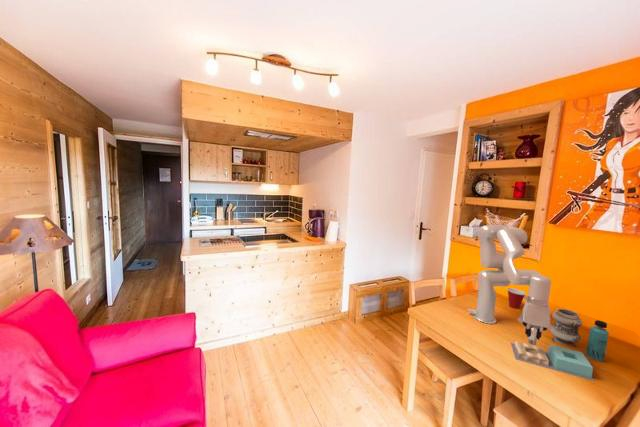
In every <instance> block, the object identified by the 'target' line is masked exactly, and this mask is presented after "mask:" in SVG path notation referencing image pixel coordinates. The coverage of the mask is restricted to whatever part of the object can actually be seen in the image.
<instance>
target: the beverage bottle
mask: <svg viewBox="0 0 640 427" xmlns="http://www.w3.org/2000/svg"><path fill="white" fill-rule="evenodd" d="M607 327H608V323H607V322H605V321H602V320H601V319H599V320H598V319H595V321H594V325H593V326H591V327H590V328H589V336H588V339H587V346H586V349H585V352H586V353H585V354H586V356H587V357H588V358H590V359H592V360H594V361H598V362H603V361H604V360H605V358H606V356H607V355H606V353H607V347H608V342H609V341H608V339H609V335H610V332H609V331H608V330H607Z"/></svg>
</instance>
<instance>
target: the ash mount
mask: <svg viewBox="0 0 640 427" xmlns="http://www.w3.org/2000/svg"><path fill="white" fill-rule="evenodd" d="M514 344H515V348H516V351H517V354H518V357H519V358H521V359H525V360H528V361H532V362H536V363H539V364H543V365H547V366H548V363H549V360H548V358H547V356H546V354H545V352H546V351H545V352H544V347H541V346H540V347H539V346H536V345H532V344H530V343H525V342H524V343H523V342H522V341H521V342H520V341H517V340H516V341H515V342H514Z"/></svg>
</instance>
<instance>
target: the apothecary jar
mask: <svg viewBox="0 0 640 427" xmlns="http://www.w3.org/2000/svg"><path fill="white" fill-rule="evenodd" d="M551 314H552V319H554V323H553V325H552V329H549V330H550V332H551V334H552V335H553V336H554V337H552V338H551V341H552V342H554V343H556V344H557V343H558V344H562V345H566V346H568V347H569V346H571V347H574V348H577V345H576V344H575V343H577V342H580V341H581V339H582V337H581V335H580V333H579V329H580V328H579V327H581V326H582V325H583V321H582V319H581V318H580V315H579V313H577V312H576V311H573V310H570V309H566V308H557V309H556V311H554V312H553V313H551Z"/></svg>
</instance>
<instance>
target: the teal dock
mask: <svg viewBox="0 0 640 427" xmlns="http://www.w3.org/2000/svg"><path fill="white" fill-rule="evenodd" d="M547 352H548V355H549V357H550V359H551V361H552V363H553V365H554V367H555V369H559V370H563V371H566V372H570V373H573V374H577V375H581V376H584V377H588V378H592V376H593V370H594V367H593V366H592V365H591V363H590V362H589V360H588V359H587V357H586V356H585V354H584V353H583V352H582V351H578V350H574V349H570V348H565V347H562V346H561V347H560V346H558V345H553V344H549V345H548V351H547Z"/></svg>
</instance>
